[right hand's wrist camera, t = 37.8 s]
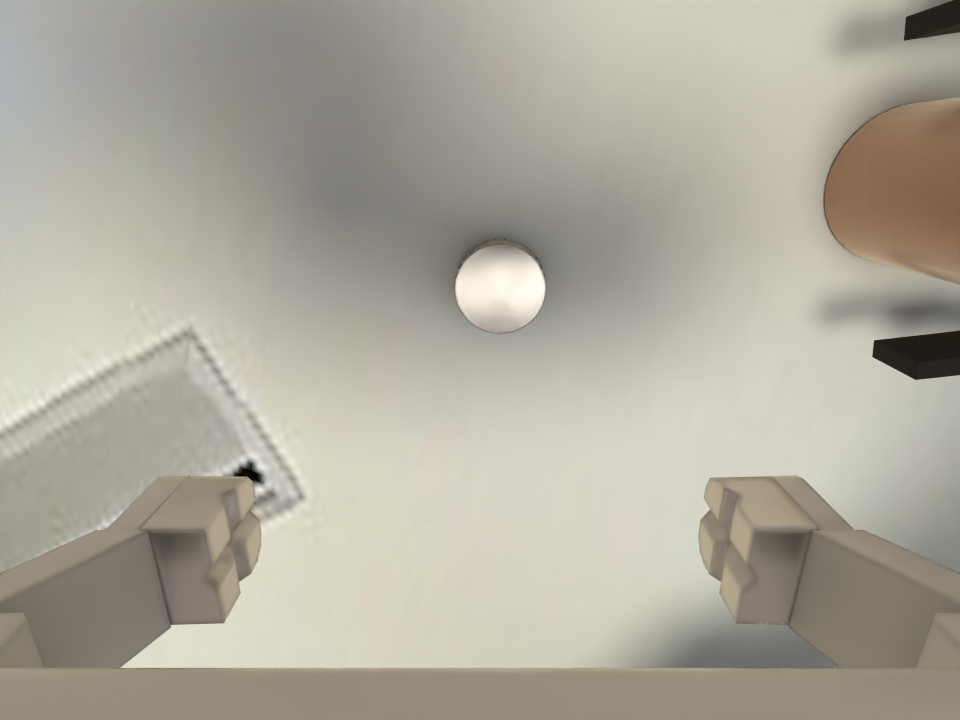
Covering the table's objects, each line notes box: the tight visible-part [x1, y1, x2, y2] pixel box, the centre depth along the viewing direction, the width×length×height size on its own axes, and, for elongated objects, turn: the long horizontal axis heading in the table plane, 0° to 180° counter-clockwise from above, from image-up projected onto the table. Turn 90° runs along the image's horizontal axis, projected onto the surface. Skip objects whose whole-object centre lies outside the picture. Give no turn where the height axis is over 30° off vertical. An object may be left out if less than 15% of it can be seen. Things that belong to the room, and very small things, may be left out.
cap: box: [454, 239, 546, 333], centre depth 28 cm, size 4×5×2 cm
